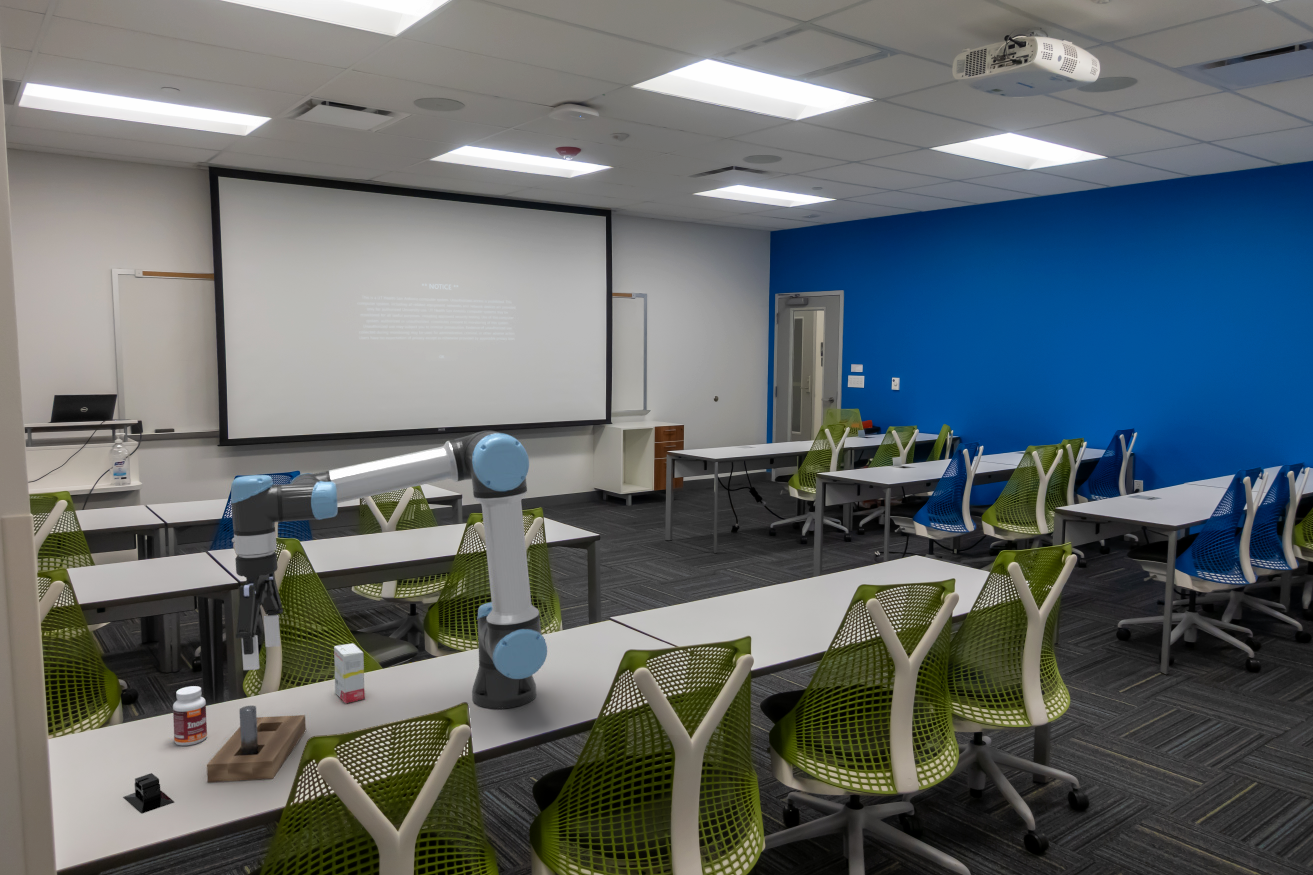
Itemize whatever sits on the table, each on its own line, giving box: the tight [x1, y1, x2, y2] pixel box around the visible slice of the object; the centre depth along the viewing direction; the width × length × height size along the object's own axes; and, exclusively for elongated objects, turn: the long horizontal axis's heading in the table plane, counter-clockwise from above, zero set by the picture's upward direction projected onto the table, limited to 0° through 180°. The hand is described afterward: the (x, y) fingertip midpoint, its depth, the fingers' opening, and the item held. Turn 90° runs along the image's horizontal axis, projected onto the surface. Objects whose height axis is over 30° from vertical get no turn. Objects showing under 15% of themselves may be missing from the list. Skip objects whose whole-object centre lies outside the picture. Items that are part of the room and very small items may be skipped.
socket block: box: [206, 714, 307, 783], centre depth 177 cm, size 12×22×4 cm, turn 6°
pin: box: [238, 705, 258, 755], centre depth 171 cm, size 3×3×12 cm
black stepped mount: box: [122, 772, 175, 815], centre depth 159 cm, size 12×7×5 cm, turn 49°
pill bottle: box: [172, 685, 208, 747], centre depth 184 cm, size 6×6×11 cm
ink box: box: [333, 643, 366, 704], centre depth 208 cm, size 9×5×12 cm, turn 36°
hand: (262, 657), depth 174 cm, fingers open, 13 cm apart
